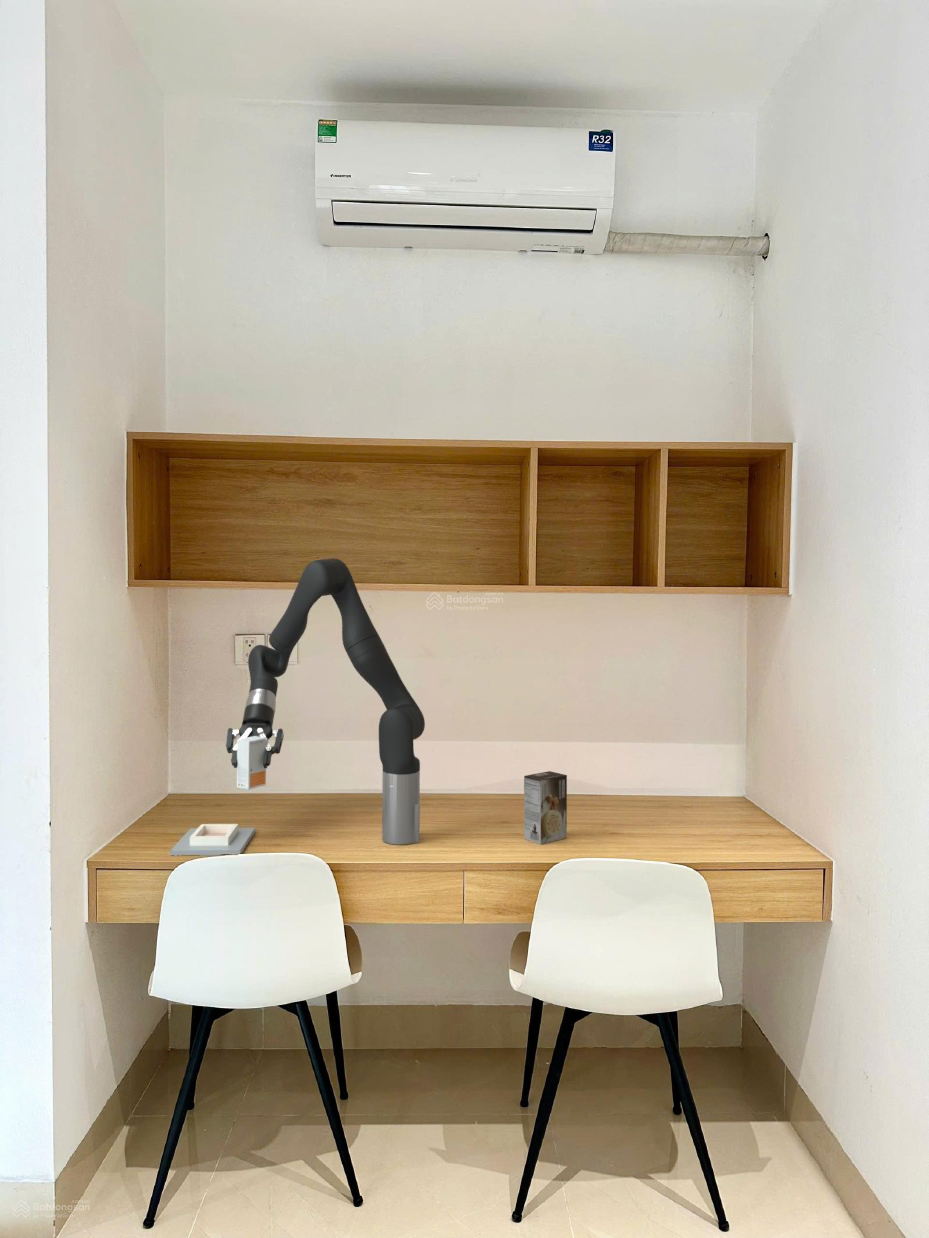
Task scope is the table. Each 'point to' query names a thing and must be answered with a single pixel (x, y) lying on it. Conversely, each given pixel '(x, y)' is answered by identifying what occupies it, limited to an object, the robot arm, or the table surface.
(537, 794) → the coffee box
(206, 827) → the board
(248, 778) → the skincare box
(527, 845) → the table surface
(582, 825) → the table surface
